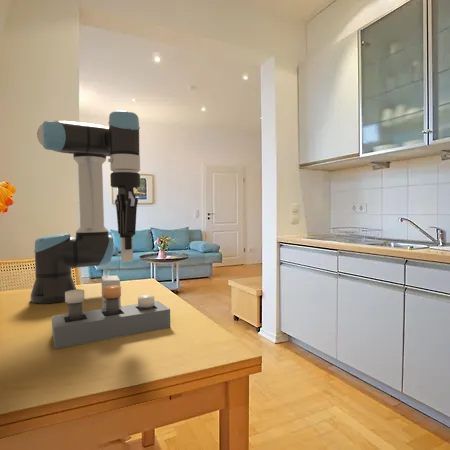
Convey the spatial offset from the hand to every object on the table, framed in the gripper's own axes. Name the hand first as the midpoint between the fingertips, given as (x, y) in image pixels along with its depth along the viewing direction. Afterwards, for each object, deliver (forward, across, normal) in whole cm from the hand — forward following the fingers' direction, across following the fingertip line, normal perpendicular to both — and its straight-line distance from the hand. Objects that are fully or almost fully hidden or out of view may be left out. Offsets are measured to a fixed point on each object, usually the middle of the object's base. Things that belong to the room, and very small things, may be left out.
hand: (127, 261), depth 93 cm
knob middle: (+14, 0, -4) cm, 15 cm away
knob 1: (+14, 0, -13) cm, 19 cm away
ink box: (+18, -14, -1) cm, 23 cm away
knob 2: (+18, 0, +5) cm, 18 cm away
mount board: (+18, 0, -4) cm, 19 cm away
